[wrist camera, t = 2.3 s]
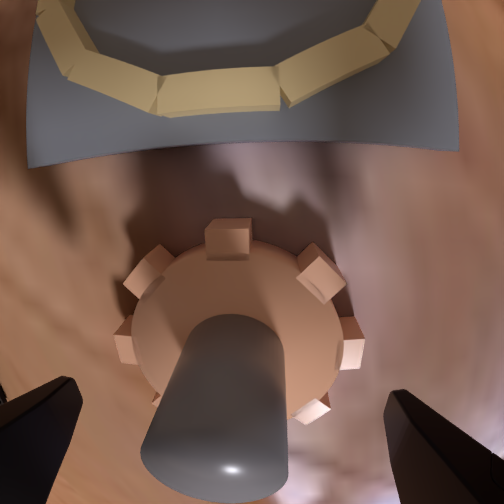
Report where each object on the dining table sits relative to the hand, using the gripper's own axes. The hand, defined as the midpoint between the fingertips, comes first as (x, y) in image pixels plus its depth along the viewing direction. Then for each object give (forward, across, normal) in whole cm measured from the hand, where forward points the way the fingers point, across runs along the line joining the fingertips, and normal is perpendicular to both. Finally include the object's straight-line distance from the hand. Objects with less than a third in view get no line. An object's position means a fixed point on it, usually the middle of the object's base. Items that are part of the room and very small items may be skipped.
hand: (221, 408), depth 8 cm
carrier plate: (+4, 0, -17) cm, 17 cm away
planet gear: (+4, 0, 0) cm, 4 cm away
